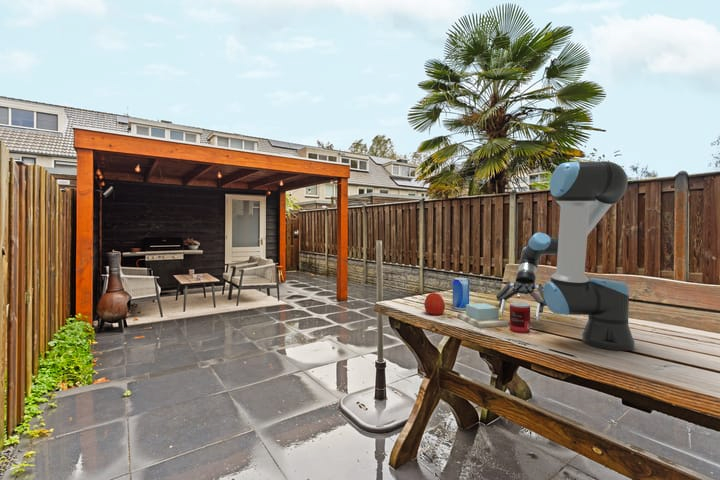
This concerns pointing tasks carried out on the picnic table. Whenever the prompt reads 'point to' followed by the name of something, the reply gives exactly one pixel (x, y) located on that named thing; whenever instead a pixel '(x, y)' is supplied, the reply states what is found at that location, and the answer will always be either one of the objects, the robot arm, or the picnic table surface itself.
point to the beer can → (460, 293)
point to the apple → (434, 304)
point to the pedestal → (482, 311)
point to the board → (483, 321)
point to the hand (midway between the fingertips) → (518, 316)
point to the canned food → (519, 317)
